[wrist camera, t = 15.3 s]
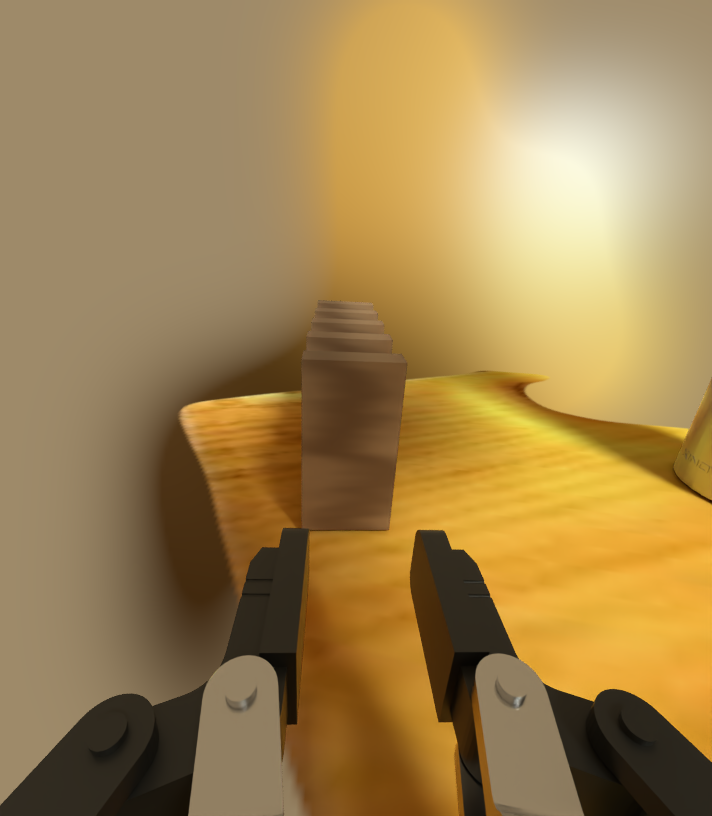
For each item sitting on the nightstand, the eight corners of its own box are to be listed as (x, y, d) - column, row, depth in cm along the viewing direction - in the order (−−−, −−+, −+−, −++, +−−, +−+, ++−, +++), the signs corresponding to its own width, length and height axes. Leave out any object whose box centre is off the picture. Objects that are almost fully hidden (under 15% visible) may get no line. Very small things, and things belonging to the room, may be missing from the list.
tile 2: (377, 471, 28) (389, 334, 24) (379, 484, 27) (392, 340, 23) (307, 470, 28) (308, 331, 24) (306, 483, 26) (306, 336, 22)
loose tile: (385, 512, 24) (401, 353, 20) (388, 529, 22) (407, 362, 19) (303, 511, 24) (303, 350, 20) (301, 529, 22) (301, 359, 18)
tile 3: (372, 442, 32) (381, 321, 28) (373, 452, 31) (384, 325, 27) (311, 440, 32) (312, 317, 28) (310, 450, 30) (311, 321, 27)
